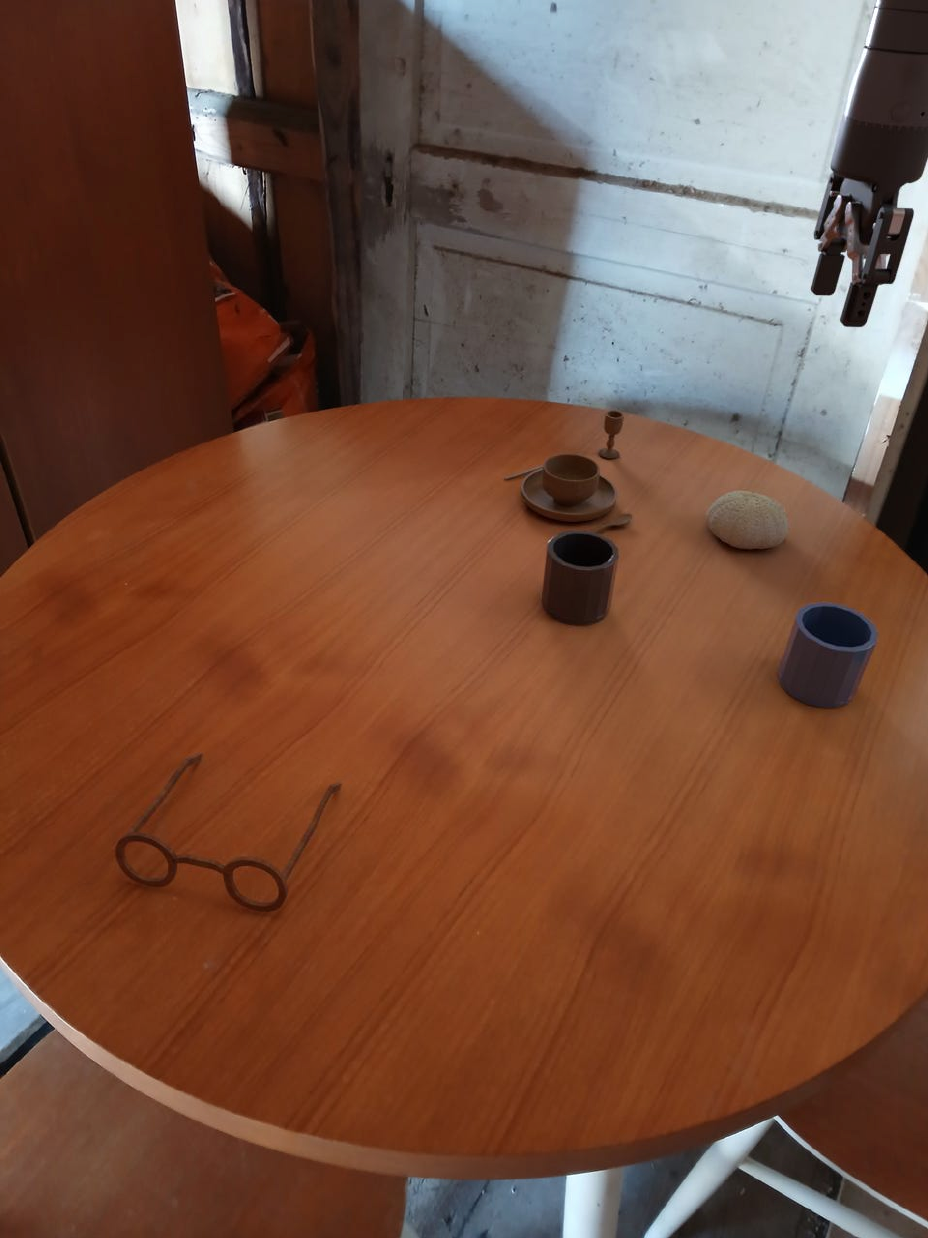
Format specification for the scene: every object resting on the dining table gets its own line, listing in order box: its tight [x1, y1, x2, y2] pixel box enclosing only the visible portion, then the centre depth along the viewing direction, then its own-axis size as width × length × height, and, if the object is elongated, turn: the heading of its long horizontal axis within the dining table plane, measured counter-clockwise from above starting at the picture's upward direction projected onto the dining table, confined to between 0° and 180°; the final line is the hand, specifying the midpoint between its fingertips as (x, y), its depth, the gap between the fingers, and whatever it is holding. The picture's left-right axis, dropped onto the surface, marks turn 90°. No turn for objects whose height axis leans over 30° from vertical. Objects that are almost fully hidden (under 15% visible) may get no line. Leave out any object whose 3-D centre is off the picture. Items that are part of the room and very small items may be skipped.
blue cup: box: [777, 601, 879, 709], centre depth 85 cm, size 7×7×7 cm
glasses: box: [114, 752, 343, 913], centre depth 69 cm, size 13×13×5 cm
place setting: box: [503, 409, 633, 533], centre depth 113 cm, size 18×20×6 cm
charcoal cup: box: [541, 529, 620, 626], centre depth 94 cm, size 7×7×7 cm
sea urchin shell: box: [705, 490, 789, 550], centre depth 107 cm, size 9×8×8 cm
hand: (836, 309), depth 85 cm, fingers open, 8 cm apart
